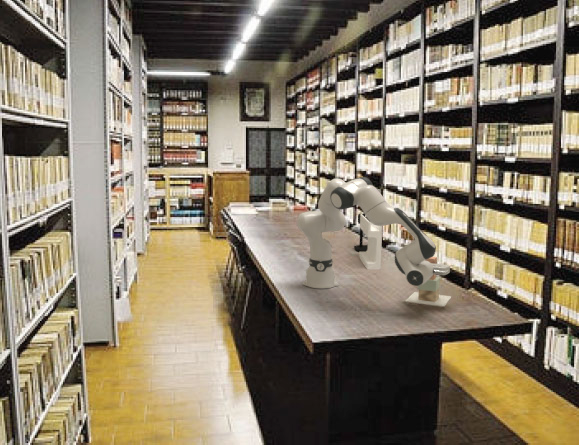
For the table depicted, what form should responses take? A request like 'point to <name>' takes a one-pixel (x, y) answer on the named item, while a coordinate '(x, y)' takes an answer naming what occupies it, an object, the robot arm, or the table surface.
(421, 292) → the wooden block
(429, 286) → the sage slab
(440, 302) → the felt pad
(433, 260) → the terracotta block
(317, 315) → the table surface
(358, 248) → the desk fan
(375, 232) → the white stand
